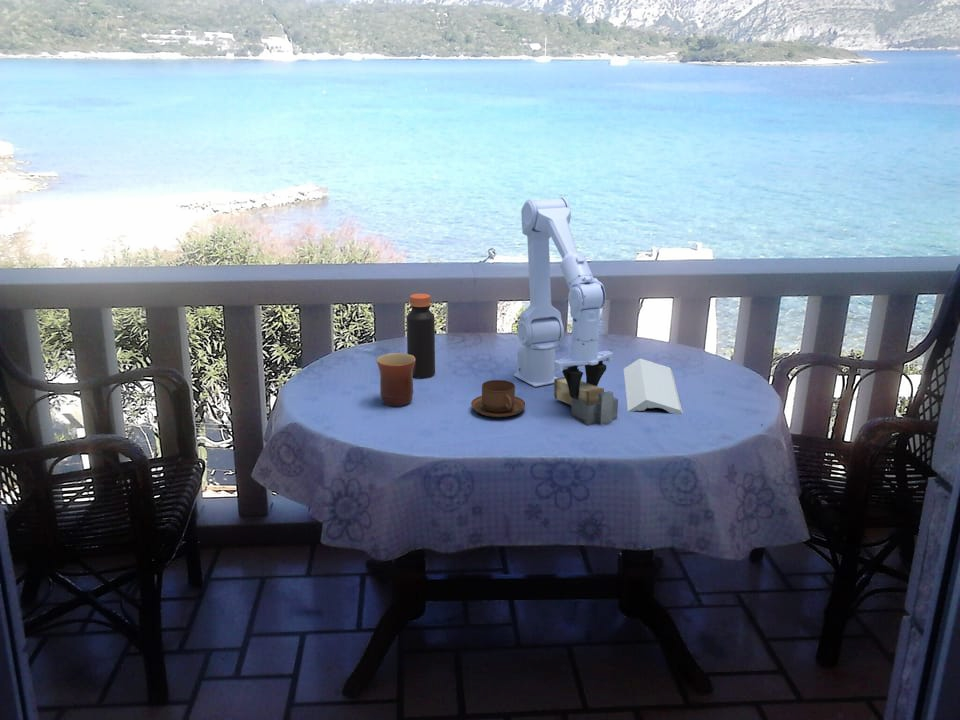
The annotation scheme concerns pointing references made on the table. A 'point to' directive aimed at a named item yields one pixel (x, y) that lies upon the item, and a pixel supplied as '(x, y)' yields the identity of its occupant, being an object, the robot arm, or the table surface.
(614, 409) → the bracket
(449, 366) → the table surface
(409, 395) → the mug
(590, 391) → the tan rectangular block
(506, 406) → the cup and saucer
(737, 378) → the table surface
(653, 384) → the crown molding
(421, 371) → the bottle
